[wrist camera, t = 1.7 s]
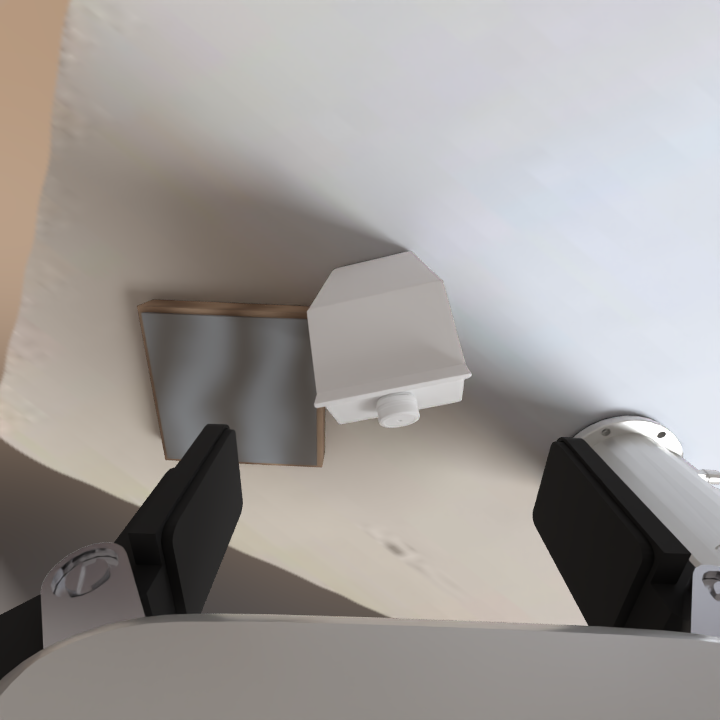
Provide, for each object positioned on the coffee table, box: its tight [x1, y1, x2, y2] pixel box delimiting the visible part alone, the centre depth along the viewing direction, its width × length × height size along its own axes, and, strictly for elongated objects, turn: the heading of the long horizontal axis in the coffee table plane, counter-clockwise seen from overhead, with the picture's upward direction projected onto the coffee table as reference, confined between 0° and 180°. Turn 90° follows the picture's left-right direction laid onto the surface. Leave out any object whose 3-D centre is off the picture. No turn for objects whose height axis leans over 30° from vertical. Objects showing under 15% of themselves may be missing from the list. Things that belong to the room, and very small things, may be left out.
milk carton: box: [307, 251, 472, 428], centre depth 25 cm, size 7×7×19 cm
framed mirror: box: [137, 300, 325, 467], centre depth 36 cm, size 16×16×3 cm
